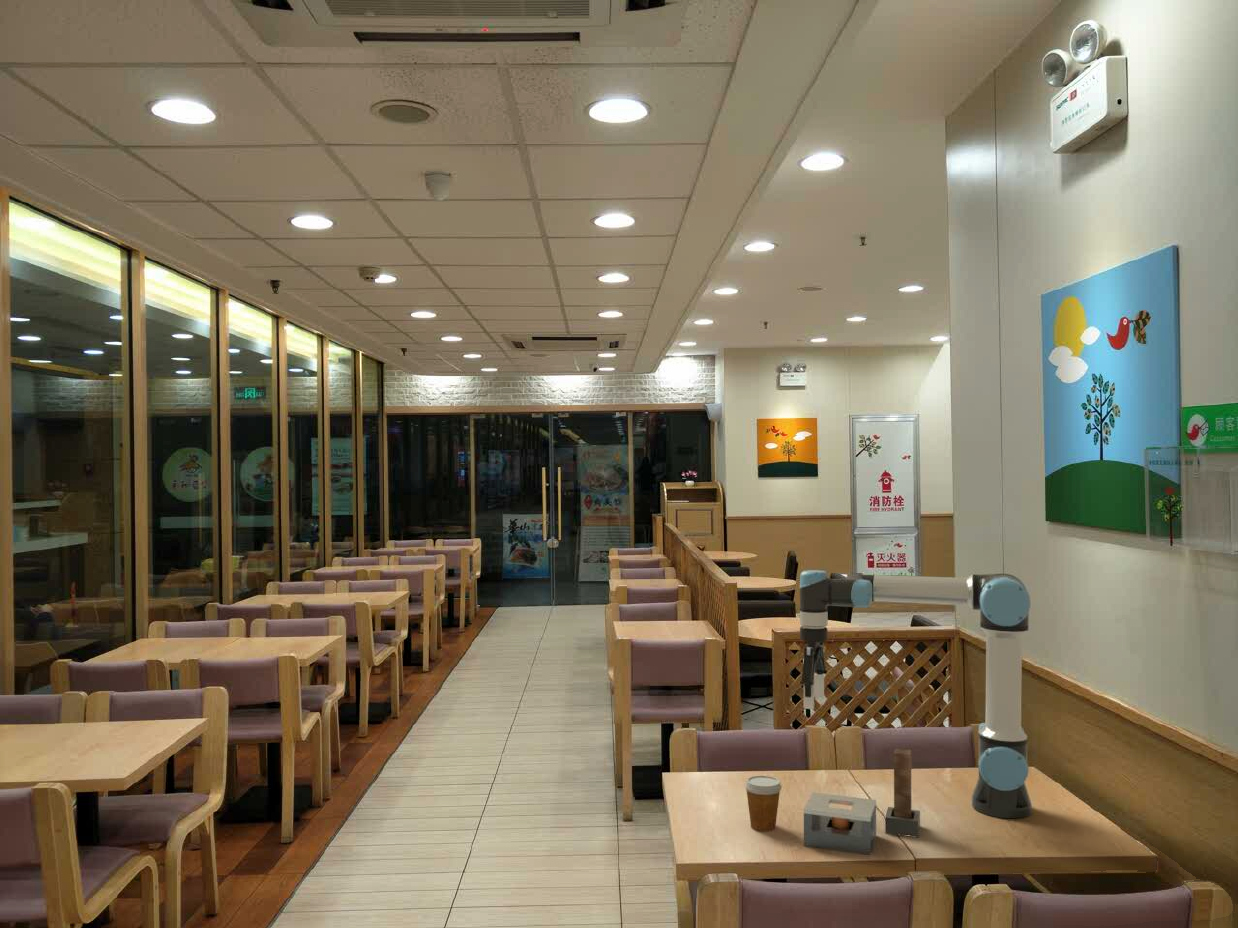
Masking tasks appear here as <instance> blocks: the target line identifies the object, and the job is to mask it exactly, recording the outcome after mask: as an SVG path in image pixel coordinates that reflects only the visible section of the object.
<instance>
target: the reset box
mask: <svg viewBox="0 0 1238 928" xmlns="http://www.w3.org/2000/svg"><path fill="white" fill-rule="evenodd" d="M831 804H835V805H844V806H851V809H846V808H845V809H844V808H836V807H830V805H831ZM831 817H837V818H845V819H850V830H844V829H837V828H831ZM876 837H877V799H872V798H871V799H870V798H864V797H863V798H862V797H853V796H846V795H839V794H837V795H836V794H831V793H830V794H829V793H821V792H815V791H813V792H811V794H810V797H809V799H808V800H807V802H806V804H805V806H804V808H803V847H810V848H816V849H817V848H818V849H825V850H830V851H831V850H832V851H838V852H839V851H840V852H845V853H852V854H860V855H865V856H866V855H867V856H871V855H872V852H873V848H874V844H875V842H876Z"/></svg>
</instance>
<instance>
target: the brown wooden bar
mask: <svg viewBox="0 0 1238 928" xmlns="http://www.w3.org/2000/svg"><path fill="white" fill-rule="evenodd" d="M893 808H894V817H900V818H908V819H912V814H911V810H912V750H910V749H903V748H895V749H894V752H893Z"/></svg>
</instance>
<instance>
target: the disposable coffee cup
mask: <svg viewBox="0 0 1238 928" xmlns="http://www.w3.org/2000/svg"><path fill="white" fill-rule="evenodd" d="M744 788H745V790H746V796H747V805H748V812H749V814H748V815H749V822H750V828H751V829H753V830H754V831H758V832H772V831H774V830H775V829H776V827H777V815H778V808H779V800H780V793H781V789H782V784H781V781H780V779H779V778H777V777H773V776H770V775H751V776H749V777H748V778H746V780H745V782H744Z"/></svg>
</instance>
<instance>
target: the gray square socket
mask: <svg viewBox="0 0 1238 928" xmlns="http://www.w3.org/2000/svg"><path fill="white" fill-rule="evenodd" d="M911 814H912V819H908V818H900V817H894V806H893V807H892V806H888V807H887V809H886V814H885V817H884V818H885V819H884V822H885V824H884V826H885V828H884V829H885V830H884V832H885V834H889V833H891V834H890V835H896V834H900V835H899V836H904V835H910V836H909V837H911V836H916V837H915V838H919V836H918V835H920V830H919V829H921V810H917V809H911Z"/></svg>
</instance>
